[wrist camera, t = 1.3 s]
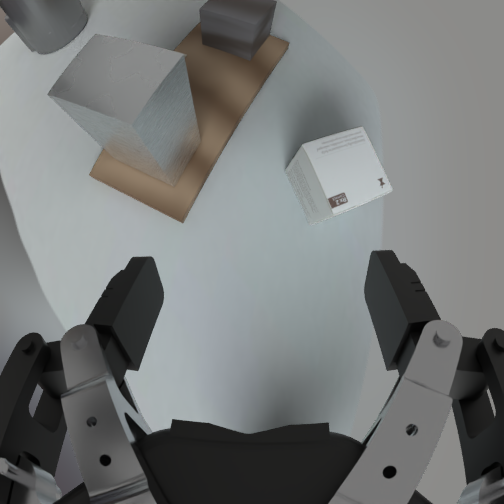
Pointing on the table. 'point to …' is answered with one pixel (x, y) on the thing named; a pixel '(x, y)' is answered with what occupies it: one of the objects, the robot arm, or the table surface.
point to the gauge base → (208, 97)
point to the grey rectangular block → (132, 104)
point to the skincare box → (336, 174)
